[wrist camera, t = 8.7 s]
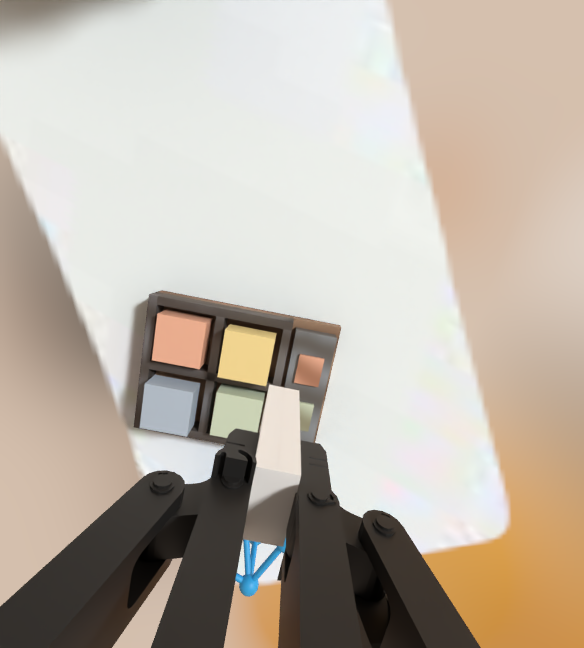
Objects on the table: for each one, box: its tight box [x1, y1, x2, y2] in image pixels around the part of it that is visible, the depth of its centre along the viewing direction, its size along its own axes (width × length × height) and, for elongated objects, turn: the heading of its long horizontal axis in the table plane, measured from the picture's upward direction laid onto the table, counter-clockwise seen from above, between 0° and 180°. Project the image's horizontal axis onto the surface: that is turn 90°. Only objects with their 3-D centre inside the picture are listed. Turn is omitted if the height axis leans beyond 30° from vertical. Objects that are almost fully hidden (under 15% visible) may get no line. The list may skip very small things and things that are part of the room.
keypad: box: [134, 291, 341, 444], centre depth 46 cm, size 17×23×4 cm
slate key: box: [140, 375, 200, 437], centre depth 43 cm, size 6×6×3 cm
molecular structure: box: [235, 538, 286, 596], centre depth 47 cm, size 10×10×10 cm
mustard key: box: [217, 324, 277, 386], centre depth 42 cm, size 6×6×3 cm
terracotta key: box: [152, 309, 212, 369], centre depth 43 cm, size 6×6×3 cm
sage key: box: [210, 383, 266, 438], centre depth 45 cm, size 6×6×3 cm
